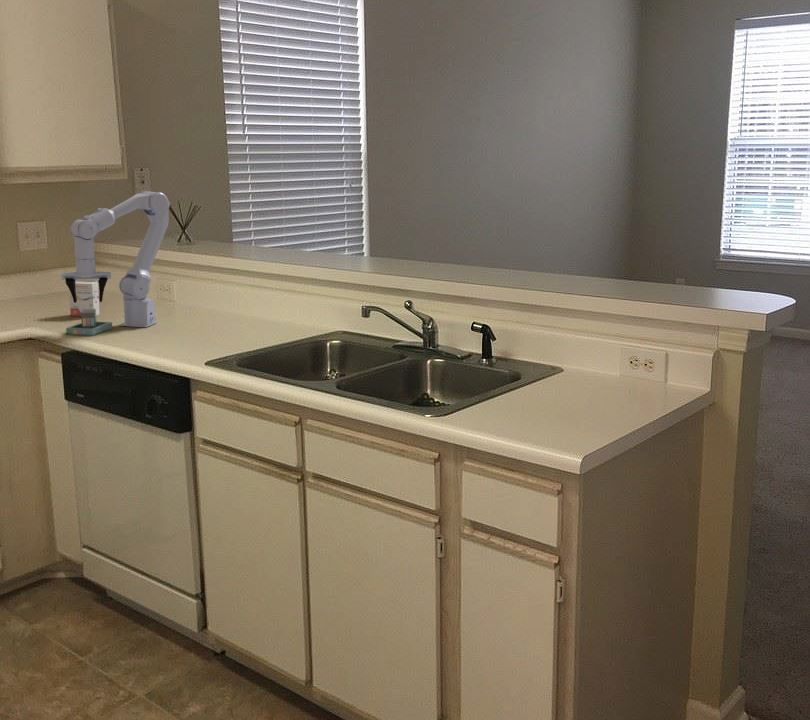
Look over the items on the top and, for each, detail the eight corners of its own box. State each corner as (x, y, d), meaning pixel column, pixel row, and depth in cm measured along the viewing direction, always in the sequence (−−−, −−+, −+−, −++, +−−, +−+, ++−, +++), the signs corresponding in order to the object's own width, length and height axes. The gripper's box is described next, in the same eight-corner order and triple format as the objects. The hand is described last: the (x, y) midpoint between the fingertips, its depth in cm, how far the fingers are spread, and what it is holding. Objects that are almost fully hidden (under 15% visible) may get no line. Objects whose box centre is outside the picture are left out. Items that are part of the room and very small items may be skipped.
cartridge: (96, 327, 292) (95, 308, 290) (95, 331, 285) (94, 312, 284) (83, 327, 291) (82, 309, 289) (82, 332, 284) (80, 313, 283)
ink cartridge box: (70, 316, 311) (67, 273, 308) (76, 313, 316) (73, 271, 313) (94, 317, 311) (91, 274, 307) (100, 314, 315) (97, 272, 312)
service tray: (112, 328, 293) (111, 322, 293) (92, 335, 282) (92, 329, 281) (86, 326, 295) (86, 320, 294) (66, 334, 283) (65, 328, 283)
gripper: (110, 256, 289) (113, 298, 292) (62, 257, 286) (65, 300, 289) (108, 259, 282) (111, 302, 285) (59, 260, 279) (62, 304, 282)
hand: (88, 301), depth 287 cm, fingers open, 7 cm apart
